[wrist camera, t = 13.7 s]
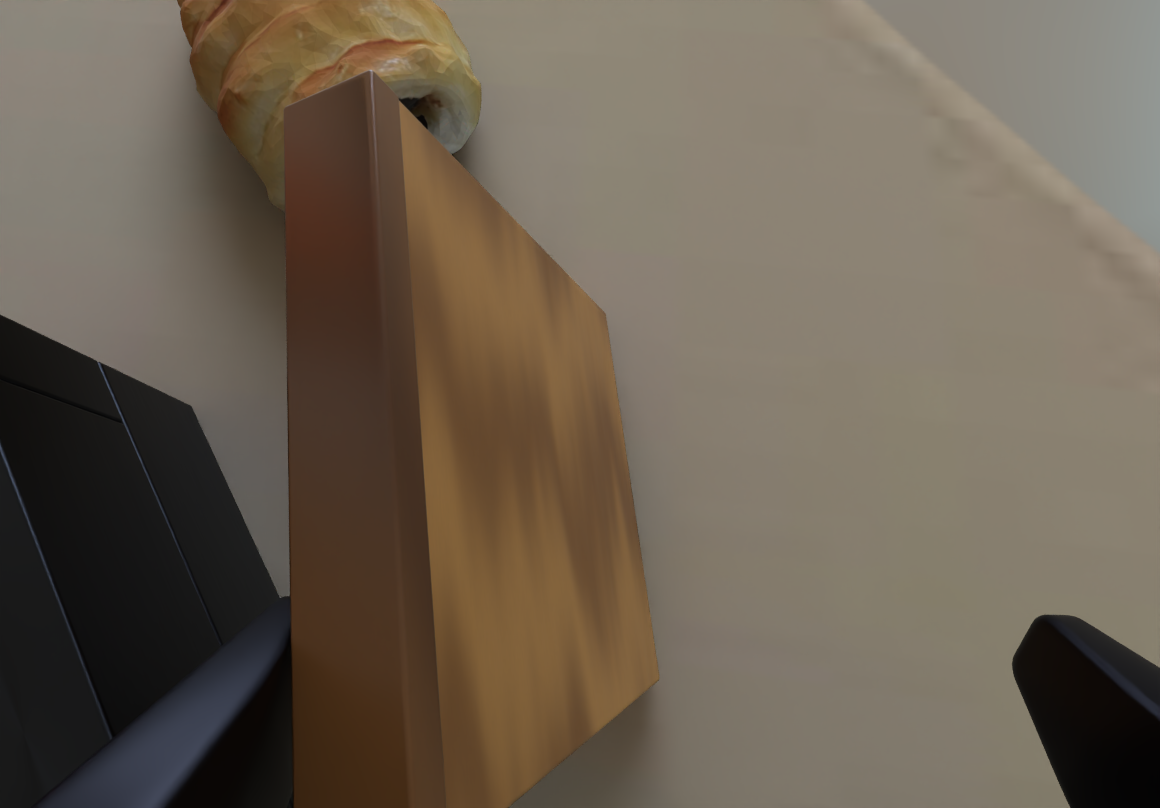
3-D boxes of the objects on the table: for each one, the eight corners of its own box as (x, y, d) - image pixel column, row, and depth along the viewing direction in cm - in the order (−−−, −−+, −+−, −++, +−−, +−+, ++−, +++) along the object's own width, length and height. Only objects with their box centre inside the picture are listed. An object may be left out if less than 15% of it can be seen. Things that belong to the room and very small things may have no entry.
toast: (661, 680, 15) (417, 890, 6) (601, 685, 15) (291, 887, 6) (606, 311, 17) (371, 65, 8) (556, 325, 17) (281, 106, 9)
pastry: (149, 16, 19) (55, -119, 15) (350, -75, 20) (308, -218, 17) (306, 254, 17) (242, 166, 14) (515, 138, 19) (508, 29, 15)
